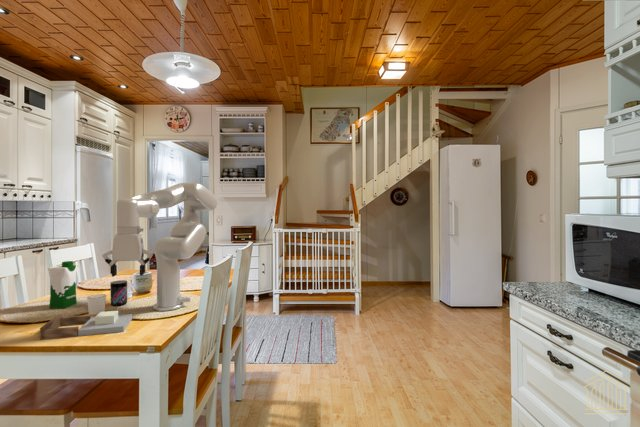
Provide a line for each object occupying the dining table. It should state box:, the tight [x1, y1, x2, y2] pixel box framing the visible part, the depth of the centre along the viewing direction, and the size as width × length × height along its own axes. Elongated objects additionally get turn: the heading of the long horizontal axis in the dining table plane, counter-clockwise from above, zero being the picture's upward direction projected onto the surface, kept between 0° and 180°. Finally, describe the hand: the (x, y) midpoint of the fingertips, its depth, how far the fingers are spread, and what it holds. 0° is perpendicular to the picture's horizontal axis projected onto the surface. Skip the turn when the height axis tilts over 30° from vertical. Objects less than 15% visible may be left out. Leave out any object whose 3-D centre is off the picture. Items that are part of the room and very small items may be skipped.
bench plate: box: [77, 313, 133, 337], centre depth 125 cm, size 14×14×2 cm
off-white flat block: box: [94, 310, 119, 325], centre depth 125 cm, size 6×6×3 cm
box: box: [39, 314, 92, 340], centre depth 121 cm, size 11×14×4 cm
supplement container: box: [110, 279, 128, 307], centre depth 153 cm, size 7×7×10 cm
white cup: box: [86, 294, 107, 316], centre depth 141 cm, size 7×7×7 cm
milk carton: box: [47, 260, 79, 309], centre depth 149 cm, size 9×9×20 cm
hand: (128, 275), depth 128 cm, fingers open, 9 cm apart
